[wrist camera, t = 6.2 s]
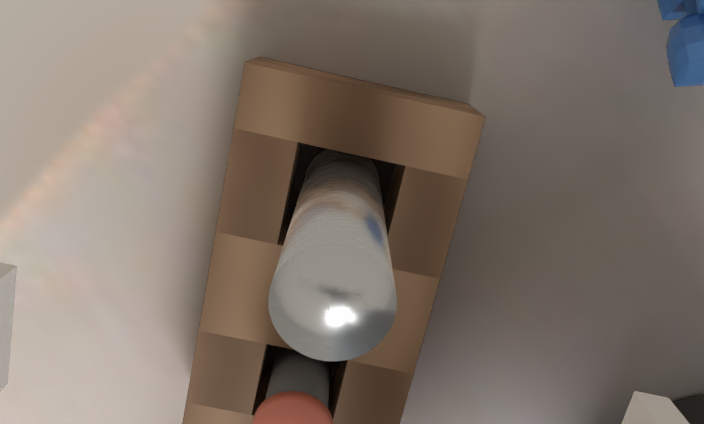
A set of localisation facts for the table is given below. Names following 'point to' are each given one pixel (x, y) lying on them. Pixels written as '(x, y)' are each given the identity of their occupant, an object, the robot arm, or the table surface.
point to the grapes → (685, 40)
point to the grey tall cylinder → (335, 263)
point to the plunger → (296, 391)
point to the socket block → (272, 225)
